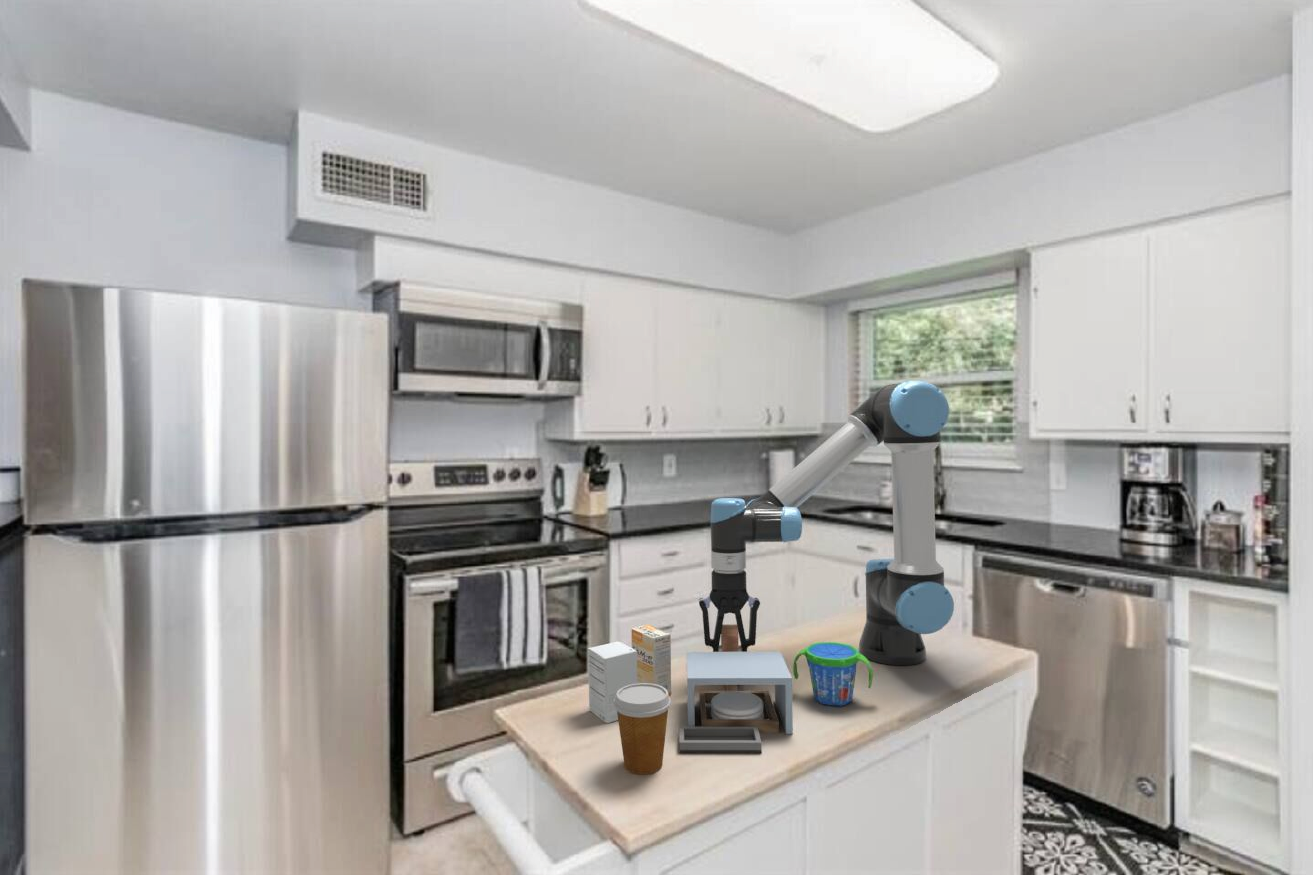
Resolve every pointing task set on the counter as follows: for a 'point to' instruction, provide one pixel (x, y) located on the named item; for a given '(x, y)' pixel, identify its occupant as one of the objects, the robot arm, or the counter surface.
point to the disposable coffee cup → (642, 725)
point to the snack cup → (832, 671)
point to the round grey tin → (736, 706)
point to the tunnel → (741, 677)
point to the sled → (764, 725)
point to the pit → (720, 740)
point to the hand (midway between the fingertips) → (730, 676)
